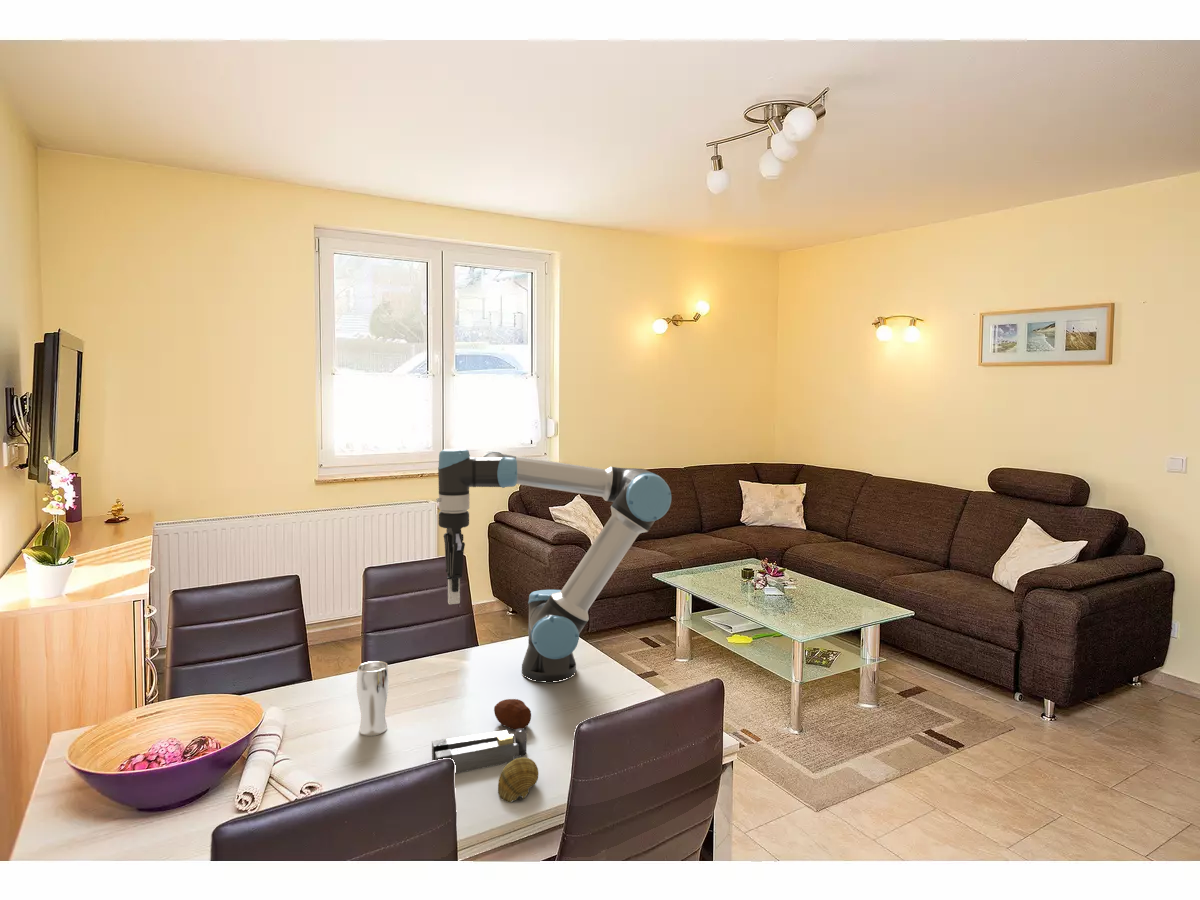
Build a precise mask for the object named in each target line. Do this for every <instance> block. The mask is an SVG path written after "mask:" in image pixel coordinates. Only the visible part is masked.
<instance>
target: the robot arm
mask: <svg viewBox="0 0 1200 900" xmlns="http://www.w3.org/2000/svg"><path fill="white" fill-rule="evenodd" d="M437 474H438V476H437V477H438V479H437V480H438V498H436V502H437V503H438V510H439V512H438V526H439V527H440V528H441V529H442V528H443V529H446V530H445V531H446V532H445V533H444V534H443V540H444V542H443V543H444V557H445V573H447V574H446V579H447V603H448V605H457V604H460V603H461V578H463V569H464V567H463V566H464V553H465V546H466V543H465V542H464V533H462V529H463V528H466V527H468V526H469V525H470V512H469V509H470V488H502V489H503V488H509V487H510V488H511V487H512V488H513V487H515V486H516V485H521V486H528V487H532V488H540V489H548V490H554V491H560V492H561V491H562V492H566V493H573V494H574V493H575V494H581V495H588V496H594V497H595V496H596V497H601V498H602V499H603V500H604V501H606V502H609V503H611V506H610V511H611V516H610V517H609V518H608V521H607V522H606V523H605V525H604V526H603V528H602V529H601V531H600V532H599V533H598V535H597V536H596V537H595V540H594V541H593V542H592V544H591V546H590V547H589V549H588V550H587V552H586V553H585V554H584V556H583V558H582V559H581V560H580V562H579V564H578V565H577V566H576V568H575V570H574V571H573V572H572V574H571V575H570V577H569V578H568V580H567V582H566V583H565V584H564V586H563V587H562V589H540V590H535V591H532V592H531V593H530V594H529V596H528V602H527V604H528V645H527V649H526V651H525V655H524V657H523V660H522V663H521V675H522V674H523V675H524V676H526V677H528V678H530V679H532V680H536V681H546V682H553V681H559V680H563V679H566V678H569V677H571V676H572V675H574V673H575V672H576V673H577V662H576V659H575V656H574V653H573V652H574V651H575V649H576V648H577V646H578V644H579V640H580V633H581V632H582V630H583V629H584V628H585V626H586V624H587V623H588V621H589V618H590V617H589V609H590V607H592V605H593V604H594V602H595V600H596V599H597V597H598V596H599V595H600V593H601V592H602V591H603V588H604V587H605V586H606V584H607V583H608V581H609V580H610V578H611V577H612V575H613V574H614V572H615V571H616V569H617V567H618V566H619V565H620V564H621V562H622V560H623V559H624V557H625V556H626V554H627V553H628V551H629V550H630V549H631V547H632V546H633V543H634V542H636V539H637V538H638V537H639V535H640V534H642V533H643V534H644V533H648V532H649V531H650V529H651V528H652V526H653V525H654V523H655V521H657V520H659V519H661V518H663V517H664V516H665V515H666V514H667V512H669V510H670V507H671V504H672V491H671V488H670V486H669V484H668V483H667V482H666V481H665V479H664V478H662V477H661V476H660V475H658V474H657V473H655V472H652V471H649V470H647V469H645V468H638V467H637V468H636V467H635V468H634V467H633V468H631V467H628V468H627V467H617V466H608V467H607V468H606V469H604V468H598V467H592V466H584V465H578V464H571V463H565V462H564V463H563V462H559V461H549V460H546V459H545V460H544V459H538V458H532V457H531V458H530V457H524V456H519V455H518V456H517V455H516V456H515V455H510V454H505V453H501V452H498V451H492V452H488V453H487V454H485V455H484V456H483V457H482V456H481V457H479V456H478V457H475V456H474V457H473V456H471V455H470V451H469V450H468V449H467V448H445V449H442V450H441V451H440V452H439V454H438V471H437ZM523 675H522V676H523ZM524 676H523V677H524ZM574 676H575V675H574ZM532 680H531V681H532ZM536 681H535V682H536ZM553 683H554V682H553Z"/></svg>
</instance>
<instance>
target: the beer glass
mask: <svg viewBox="0 0 1200 900" xmlns="http://www.w3.org/2000/svg"><path fill="white" fill-rule="evenodd" d="M388 667H389V666H388V663H387V662H385V661H381V660H380V661H379V660H374V661H367V662H363V663H361V664H359V665H358V667H357V671H356V693H357V694H356V695H357V700H358V705H359V711H360V723H359V729H358V733H359V734H360V735H362V736H365V737H374V736H375V737H376V736H379V735H381V734H383V733H384V732H386V731H387V729H388V724H387V719H386V707H387V701H388V696H389V686H390V685H389V683H390V680H389V670H388V669H389V668H388Z"/></svg>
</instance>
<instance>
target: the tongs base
mask: <svg viewBox="0 0 1200 900" xmlns="http://www.w3.org/2000/svg"><path fill="white" fill-rule="evenodd" d="M527 735H528V733H527V729H526V728H524V729H523V728H520V729H517V730H515V735H514V743H513V737H512V735H506V736H501V737H497V741H494V742H488V743H483V744H478V745H472V746H467V747H462V748H456V749H451V750H450V749H448V750H443V751H437V752H435V760H438V759H443V758H451V759H453V760H454V762H455V765H456V773H455V774H458V773H459V774H460V773H465V772H469V771H474V770H480V769H483V768H484V769H485V768H489V767H493V766H499V765H504V764H508V763H510V762H511V761H512V760H514V759H515V758H514V757H525V756H526V755H527V747H528V746H527V743H528V742H527V738H528V737H527Z"/></svg>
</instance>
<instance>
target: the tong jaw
mask: <svg viewBox="0 0 1200 900" xmlns="http://www.w3.org/2000/svg"><path fill="white" fill-rule="evenodd" d="M506 735H512V737H513V743H515V735H514V733H510V734H509V732H508V730H507V729H505V730H497V731H491V732H485V733H478V734H471V735H470V734H469V735H466V736H465V735H464V736H459V737H457V736H456V737H449V738H443V739H438V740H432V741H431V760H435V752H437V751H443V750H448V749H450V750H451V749H456V748H462V747H467V746H472V745H478V744H483V743H488V742H494V741H497V737H501V736H506Z"/></svg>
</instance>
